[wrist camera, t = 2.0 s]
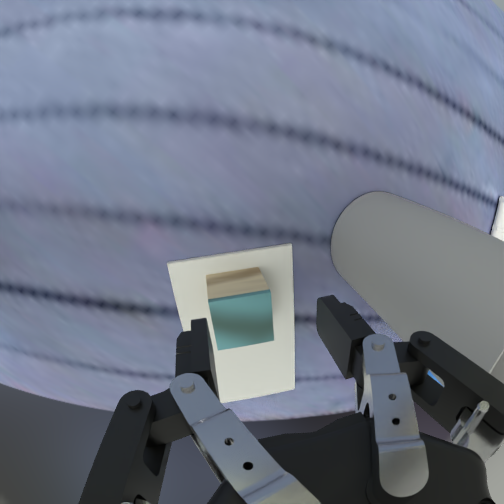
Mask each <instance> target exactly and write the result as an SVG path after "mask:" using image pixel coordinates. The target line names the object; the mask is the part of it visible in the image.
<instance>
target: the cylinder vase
mask: <svg viewBox="0 0 504 504" xmlns="http://www.w3.org/2000/svg"><path fill="white" fill-rule="evenodd" d="M331 256H332V260H333V264H334V266H335V268H336V270H337V272H338V273H339V274H340V275H341V277H342V278H343V279H344V280H345V281H346V282H347V283H348V284H349V285H350V286H351V287H352V288H353V289H354V290H355V291H356V292H357V293H358V294H359V295H360V296H361V297H362V298H363V299H364V300H365V301H366V302H367V303H368V304H369V305H370V306H371V307H372V308H373V310H374V311H375V312H376V313H377V314H378V315H379V316H380V317H381V318H382V319H383V320H384V321H385V322H386V323H387V324H388V325H389V327H390V328H391V329H392V330H393V331H394V332H395V333H396V334H397V335H398V336H399V337H400V338H401V339H402V341H403V342H407V341H409V340H410V336H411V335H412V334H413V333H414V332H417V331H427V332H430V333H432V334H434V335H435V336H437V337H438V338H440V339H441V340H442V341H444V342H445V343H447V344H448V345H450V346H451V347H453V348H454V349H456V350H457V351H458V352H460V353H461V354H463V355H464V356H466V357H467V358H468V359H470V360H471V361H473V362H474V363H475V364H477V365H478V366H480V367H481V368H483V369H484V370H485V371H487V372H488V373H489V374H491V375H492V376H494V377H495V378H496V379H498V380H499V381H501V382H502V383H503V384H504V241H502V240H500V239H498V238H496V237H494V236H492V235H490V234H488V233H486V232H483V231H481V230H479V229H477V228H475V227H473V226H470V225H468V224H466V223H464V222H461V221H459V220H457V219H454V218H452V217H450V216H447V215H445V214H443V213H440V212H438V211H435V210H433V209H430V208H428V207H425V206H423V205H420V204H418V203H415V202H412V201H410V200H407V199H404V198H402V197H399V196H396V195H394V194H391V193H387V192H380V191H378V192H371V193H367V194H364V195H362V196H360V197H358V198H357V199H355V200H354V201H353V202H351V203H350V204H349V205H348V206H347V207H346V208H345V210H344V211H343V212H342V214H341V215H340V217H339V218H338V220H337V222H336V225H335V227H334V230H333V234H332V238H331ZM429 371H430V372H431V373H432V374H433V375H434V376H435V377H436V379H437V380H438V381H439V382H440V383H441V384H442V385H443V387H444V382H443V380H442V379H441V378H440V377H439V376H437V375H436V374H435V373H433V372H432V371H431V370H430V369H429Z"/></svg>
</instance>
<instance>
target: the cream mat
mask: <svg viewBox="0 0 504 504" xmlns="http://www.w3.org/2000/svg"><path fill="white" fill-rule="evenodd" d="M167 266H168V270H169V275H170V279H171V283H172V288H173V292H174V296H175V300H176V304H177V308H178V312H179V316H180V320H181V324H182V328H183V331H191V320H193V319H200V318H207V322H208V327H209V332H210V337H211V341H212V346H213V352H214V359H215V367H216V375H217V383H218V391H219V398H220V402H221V403H225V402H232V401H238V400H244V399H249V398H255V397H260V396H265V395H270V394H274V393H279V392H284V391H288V390H292V389H295V334H294V289H293V260H292V245H291V243H288V244H282V245H275V246H269V247H262V248H255V249H249V250H242V251H235V252H229V253H222V254H216V255H209V256H203V257H196V258H190V259H183V260H177V261H170V262H167ZM254 267H259V269H260V271H261V273H262V275H263V277H264V279H265V281H266V283H267V285H268V287H269V289H270V291H271V299H272V314H273V329H274V341H270V342H265V343H259V344H254V345H248V346H243V347H237V348H231V349H225V350H218V349H217V344H216V339H215V334H214V329H213V324H212V319H211V314H210V309H209V304H208V295H207V284H206V275H209V274H215V273H222V272H228V271H235V270H241V269H247V268H254Z"/></svg>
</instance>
